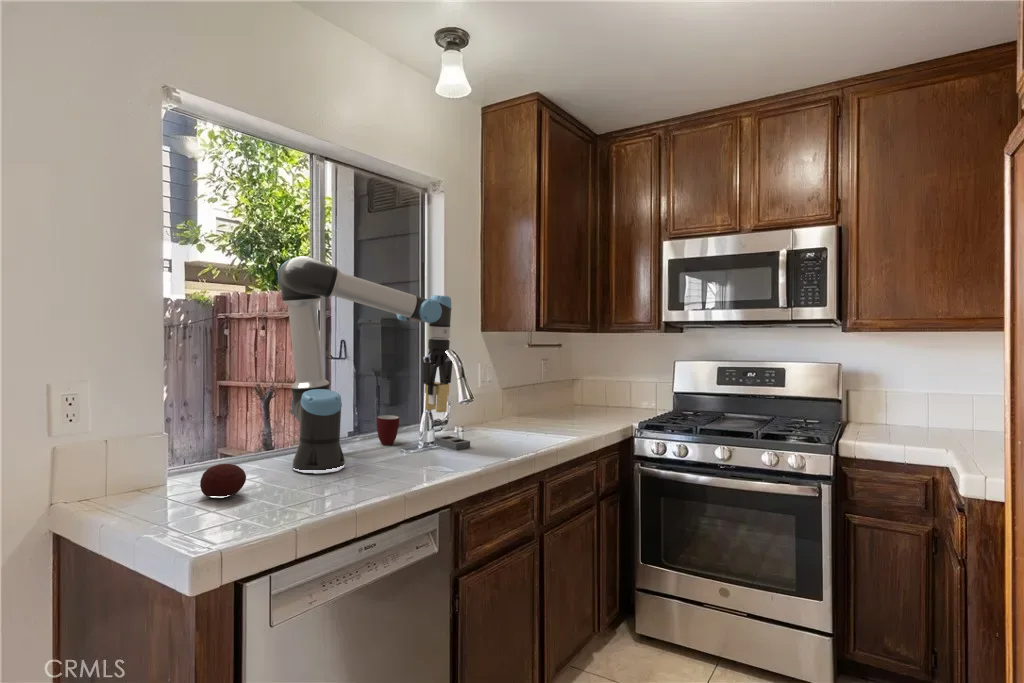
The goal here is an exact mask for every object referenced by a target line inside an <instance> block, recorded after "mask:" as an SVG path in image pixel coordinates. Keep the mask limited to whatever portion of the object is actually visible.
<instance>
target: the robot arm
mask: <svg viewBox="0 0 1024 683" xmlns="http://www.w3.org/2000/svg"><path fill="white" fill-rule="evenodd" d="M277 281H278V284H279V285H280V289H281V299H282V303H283V304H285V305H286V306H287V307H288V308H287V309H288V317H289V328H290V334H291V335H290V337H291V346H292V356H293V366H294V375H295V381H294V383H293V384H292V385H291V394H292V396H291V398H292V400H291V404H290V405H291V411H292V415H293V416H294V418H296V420H297V421H298V422H300V424H299V425H300V427H299V444H298V446H297V449H296V451H295V452H296V453H295V454H294V457H293V461H292V469H293V468H295V469H299V470H326V469H332V468H337V467H340V466H343V465H344V464H345V462H346V461H345V457H344V452H343V450H342V446H341V443H340V441H341V439H340V438H341V422H342V421H341V419H342V407H343V406H342V405H343V404H342V397H341V396H342V395H341V394H340V393H339V392H337V391H335V390H331V389H330V388H331V387H330V382H329V381H328V380H327V379H325V376H324V367H323V357H322V348H321V336H320V326H319V318H318V316H319V315H318V306H317V305H318V303H319V302H320V301H321V300H322V297H323V298H328V299H330V298H332V297H335V298H338V299H339V298H340V299H343V300H347V301H350V302H353V303H357V304H360V305H363V306H368V307H371V308H374V309H378V310H380V311H385V312H389V313H392V314H395V315H396V318H397V319H398V320H399V321H405V322H408V321H409V322H418V323H419V322H420V323H427V324H428V338H429V339H428V344H427V345H428V354H427V355H426V356H421V362H422V365H423V366H422V368H423V369H422V371H423V372H422V378H423V380H422V381H423V382H422V383H423V384H424V385H425V384H426V385H428V395H429V403H428V404H433V405H434V404H435V391H436V386H434V382H436V377H437V371H438V375H439V383H445V384H451V382H452V374H453V373H452V372H453V363H454V362H453V363H452V361H451V360H450V359H449V357H448V356H447V354H446V353H445V351H446V350H448V351H449V350H450V343H451V340H450V337H451V318H452V317H451V316H452V298H451V297H450V296H448V295H435V294H434V295H433V294H432V295H430V298H428V299H427V298H424V297H421V296H417V295H414V294H413V293H412V294H411V293H409V292H405V291H402V290H399V289H396V288H392V287H389V286H386V285H382V284H380V283H377V282H374V281H369V280H367V279H363V278H360V277H357V276H354V275H351V274H347V273H345V272H341V271H340V269H339V268H338V267H336V266H334V265H330V264H328V263H325V262H322V261H320V260H319V259H315V258H312V257H310V256H305V255H301V256H295V257H293V258H290V259H287V260H286V261H285V262H284V263H282V265H281V266H280V267H279V270H278V273H277Z"/></svg>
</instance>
